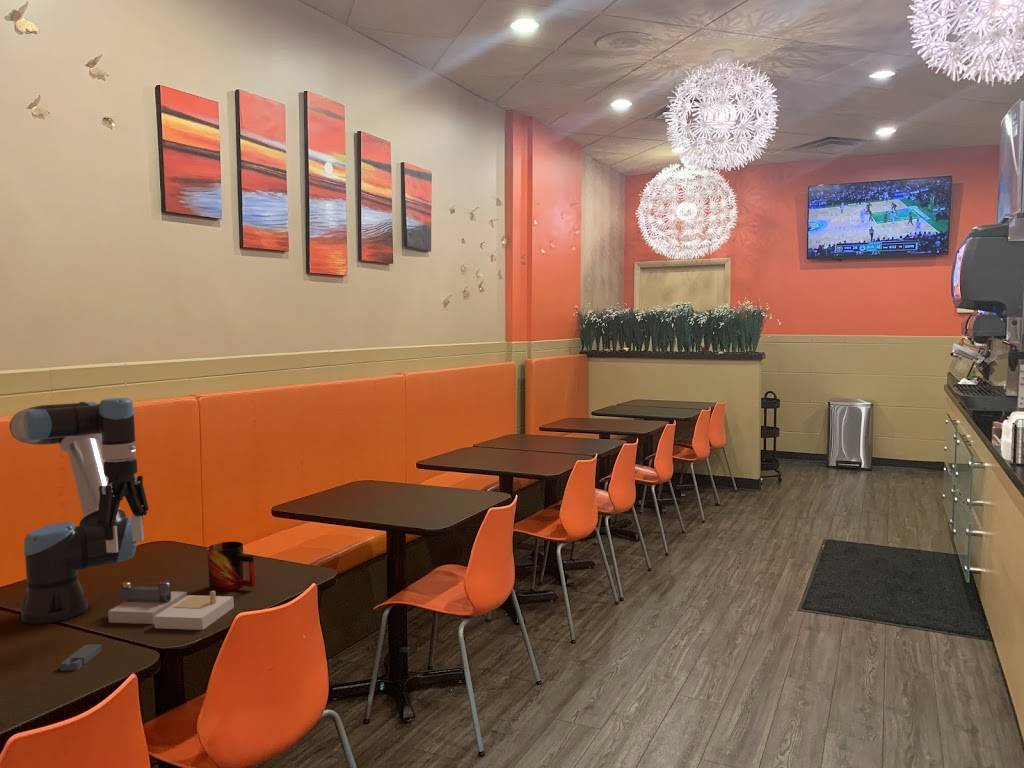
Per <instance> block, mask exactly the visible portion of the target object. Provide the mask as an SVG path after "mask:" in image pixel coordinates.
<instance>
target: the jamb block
mask: <svg viewBox="0 0 1024 768" xmlns="http://www.w3.org/2000/svg"><path fill="white" fill-rule="evenodd" d="M186 596H188V591H172V590H171V600H170V601H167V602H159V601H131V600H124V601H123V602H122V603H120V604H118V605H116V606H114V607H113V608H111V609H109V610H108V611H107V615H108V623H112V624H113V623H117V624H145V625H147V624H148V625H155V624H154V616H156V615H157V614H159V613H160V612H162V611H164V610H165V609H167V608H169V607H170V606H172V605H173V604H175V603H177V602H178V601H180V600H181V599H183V598H185V597H186Z"/></svg>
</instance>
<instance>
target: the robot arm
mask: <svg viewBox="0 0 1024 768" xmlns="http://www.w3.org/2000/svg"><path fill="white" fill-rule="evenodd" d="M135 430H136V427H135V408H134V403H133V400H132V399H131V398H128V397H125V398H124V397H115V398H113V397H112V398H105V399H102V400H101V401H100V403H98V402H94V401H88V402H87V401H80V402H75V403H74V402H73V403H59V404H44V405H43V404H42V405H35V406H31V407H27V408H25V409H22V410H20V411H18V412H17V413H15V414H14V415H13V416H12V418H11V419H10V422H9V431H10V435H12V437H14V438H15V439H16V440H17V441H19V442H21V443H23V444H24V443H25V444H28V445H38V446H39V445H41V446H42V445H53V444H55V445H56V444H59V446H60V449H61V450H62V451H63V452H64V453H67V454H68V457H69V461H70V466H71V470H72V473H73V478H74V483H75V487H76V490H77V495H78V499H79V504H80V506H81V512H82V515H83V517H82V518H81V519H80V521H79V522H78V525H77V526H76V525H75V523H74V522H73V521H63V522H56V523H52V524H51V523H50V524H48V525H45V526H41V527H38V528H36V529H34V530H32V531H30V532H29V533H27V534H26V535H25V537H24V539H23V544H24V545H23V555H24V561H25V562H24V563H25V564H24V565H25V577H26V593H25V596H24V600H23V604H22V608H21V609H20V615H21V616H20V618H21V622H23V623H25V624H28V625H29V624H30V625H43V624H52V623H57V622H60V621H64V620H65V621H66V620H68V619H71V618H74V617H77V616H79V615H81V614H83V613H84V612H86V611H87V610H88V608H89V605H88V598H87V597H86V596H85V593H84V591H83V588H82V586H81V583H80V581H79V571H81V570H85V569H90V568H94V567H100V566H105V565H111V564H118V563H120V562H124V561H128V560H130V559H132V558H133V557H134V556H135V554H136V551H137V550H136V549H137V543H138V542H143V541H145V540H144V539H145V537H144V516H147V514H148V511H149V504H148V501H147V500H148V499H147V496H146V492H145V488H144V485H143V484H144V483H143V482H144V480H143V479H144V477H143V475H135V474H137V473H138V460H137V458H135V457H136V456H137V449H136V431H135ZM123 499H125V500H126V502H127V504H128V506H129V508H130V511H131V512H132V515H131V516H128V517H127V515H126V512H125V510H124V509H122V508H121V507H120V503H121V501H123Z"/></svg>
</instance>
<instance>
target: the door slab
mask: <svg viewBox="0 0 1024 768" xmlns="http://www.w3.org/2000/svg"><path fill="white" fill-rule="evenodd" d="M234 600H235V599H234V596H225V595H224V596H222V595H216V592H215V591H209V595H192V594H191V595H189V594H187V596H186V597H185V598H183V599H181V600H180V601H178V602H177V603H175V604H173V605H172V606H170V607H169V608H167V609H165V610H164V611H162V612H160V613H159V614H157V615H156V616H154V624H153V625H154V628H155V629H167V630H193V631H194V630H197V631H203V630H205V629H207V628H208V627H209V626H210V625H212V624H213V623H215V622H216V621H217V620H218V619H220V618H221V617H223V616H224V615H226V614H227V613H228V612H230V611H231V610H233V609H234V608H235V605H234V604H235V603H234V602H235V601H234Z"/></svg>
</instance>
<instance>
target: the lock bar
mask: <svg viewBox="0 0 1024 768" xmlns="http://www.w3.org/2000/svg"><path fill="white" fill-rule="evenodd" d="M171 591H172V590H171V582H170V581H167V580H166V581H160V582H159V583H158V585H157V586H146V585H145V586H141V585H139V586H137V585H131V582H130V581H125V582H123V583H122V582H121V588H119V593H120V594H119V598H120V601H127V600H131V601H159V602H167V601H170V600H171Z"/></svg>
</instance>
